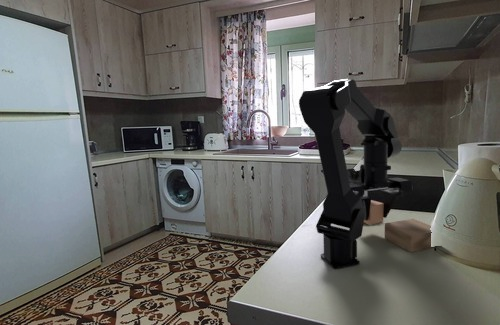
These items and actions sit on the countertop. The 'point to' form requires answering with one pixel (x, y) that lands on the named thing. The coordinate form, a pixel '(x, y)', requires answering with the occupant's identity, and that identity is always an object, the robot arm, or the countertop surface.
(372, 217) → the terracotta cube
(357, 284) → the countertop surface
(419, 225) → the brown wooden square block
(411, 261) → the countertop surface
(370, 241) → the countertop surface
